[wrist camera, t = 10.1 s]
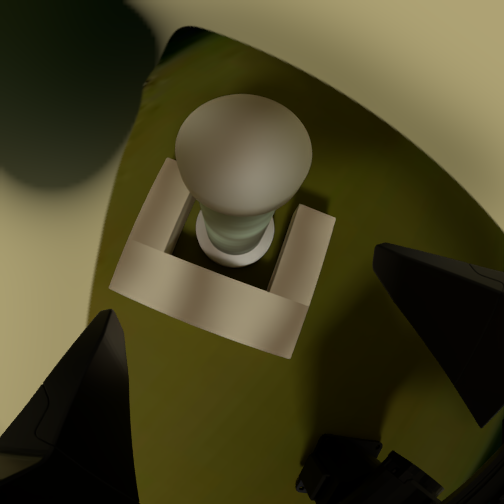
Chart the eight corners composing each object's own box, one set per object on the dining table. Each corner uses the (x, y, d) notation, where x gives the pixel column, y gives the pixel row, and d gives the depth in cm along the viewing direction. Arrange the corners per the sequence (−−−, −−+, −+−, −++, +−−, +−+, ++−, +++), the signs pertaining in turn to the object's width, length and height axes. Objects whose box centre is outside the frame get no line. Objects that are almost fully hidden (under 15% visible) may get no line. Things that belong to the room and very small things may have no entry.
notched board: (325, 226, 24) (335, 218, 22) (283, 354, 22) (289, 359, 20) (172, 171, 24) (167, 157, 22) (120, 290, 22) (108, 288, 20)
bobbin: (281, 210, 24) (332, 116, 12) (257, 279, 23) (295, 240, 10) (213, 186, 24) (205, 76, 11) (186, 252, 23) (141, 185, 10)
